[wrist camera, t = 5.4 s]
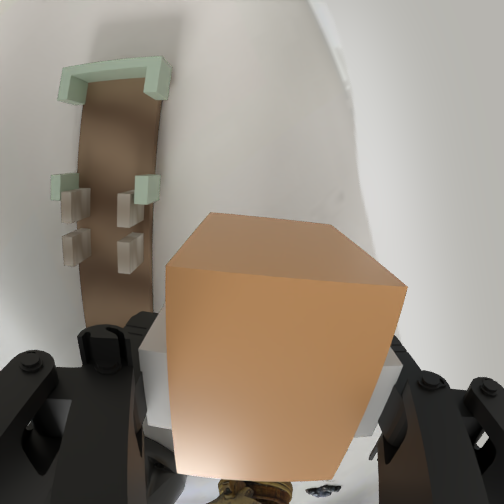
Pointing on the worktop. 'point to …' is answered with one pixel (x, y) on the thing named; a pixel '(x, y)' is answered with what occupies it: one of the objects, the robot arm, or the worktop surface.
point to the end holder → (141, 67)
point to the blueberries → (323, 490)
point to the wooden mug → (253, 492)
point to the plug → (273, 346)
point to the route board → (113, 202)
